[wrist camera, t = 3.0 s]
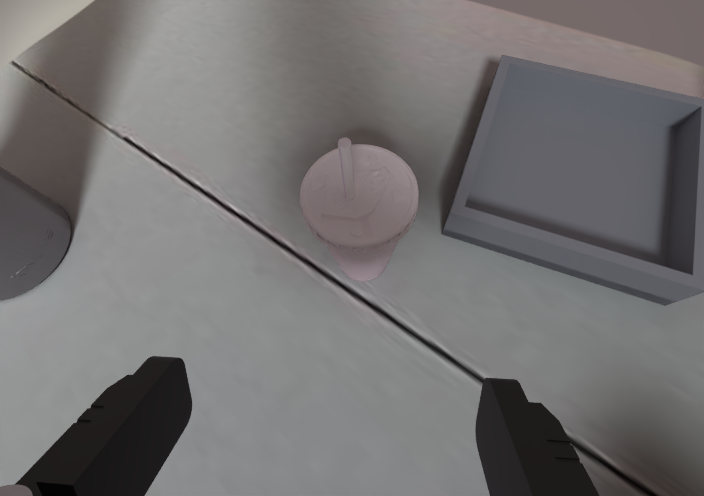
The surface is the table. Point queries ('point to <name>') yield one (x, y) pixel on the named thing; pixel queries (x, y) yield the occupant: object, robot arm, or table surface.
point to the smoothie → (359, 205)
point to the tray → (588, 180)
